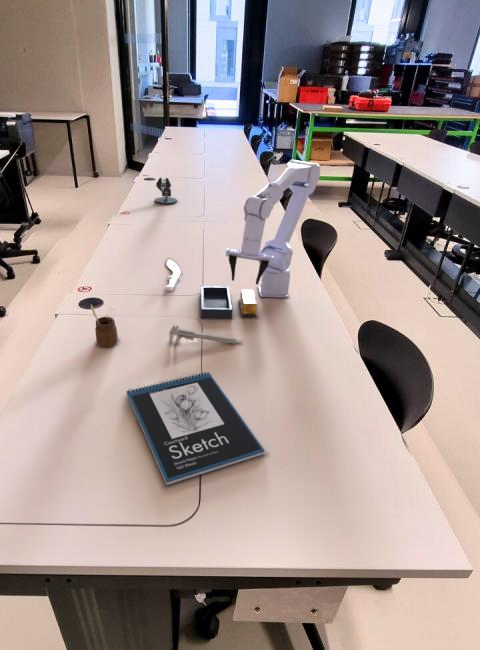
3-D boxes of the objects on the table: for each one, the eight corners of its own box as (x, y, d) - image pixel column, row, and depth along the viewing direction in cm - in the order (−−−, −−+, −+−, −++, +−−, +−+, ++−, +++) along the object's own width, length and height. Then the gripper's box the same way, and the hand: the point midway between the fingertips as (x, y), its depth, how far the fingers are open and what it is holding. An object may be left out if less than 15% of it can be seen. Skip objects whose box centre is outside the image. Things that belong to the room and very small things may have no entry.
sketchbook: (166, 486, 84) (166, 479, 83) (125, 394, 106) (125, 387, 105) (264, 454, 91) (265, 447, 90) (207, 374, 114) (207, 367, 113)
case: (228, 295, 152) (228, 286, 151) (231, 318, 139) (232, 309, 137) (200, 294, 152) (200, 286, 150) (201, 318, 138) (201, 309, 137)
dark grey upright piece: (152, 207, 237) (151, 182, 230) (155, 198, 254) (155, 174, 247) (176, 208, 238) (175, 183, 231) (177, 198, 254) (177, 175, 247)
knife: (168, 257, 178) (187, 258, 177) (168, 260, 178) (187, 262, 178) (150, 285, 152) (172, 287, 152) (150, 290, 153) (172, 291, 152)
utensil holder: (118, 347, 123) (114, 309, 116) (95, 348, 122) (90, 310, 116) (118, 336, 128) (114, 299, 121) (96, 337, 127) (91, 300, 120)
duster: (252, 302, 149) (253, 289, 146) (256, 317, 140) (257, 304, 137) (239, 301, 149) (240, 288, 146) (242, 317, 140) (243, 304, 137)
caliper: (169, 345, 125) (168, 325, 121) (169, 343, 126) (168, 324, 122) (240, 343, 127) (241, 325, 123) (239, 341, 128) (241, 323, 124)
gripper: (227, 237, 129) (221, 281, 136) (276, 245, 129) (267, 289, 135) (229, 232, 136) (223, 275, 142) (275, 240, 135) (267, 282, 141)
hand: (244, 281), depth 139 cm, fingers open, 7 cm apart
